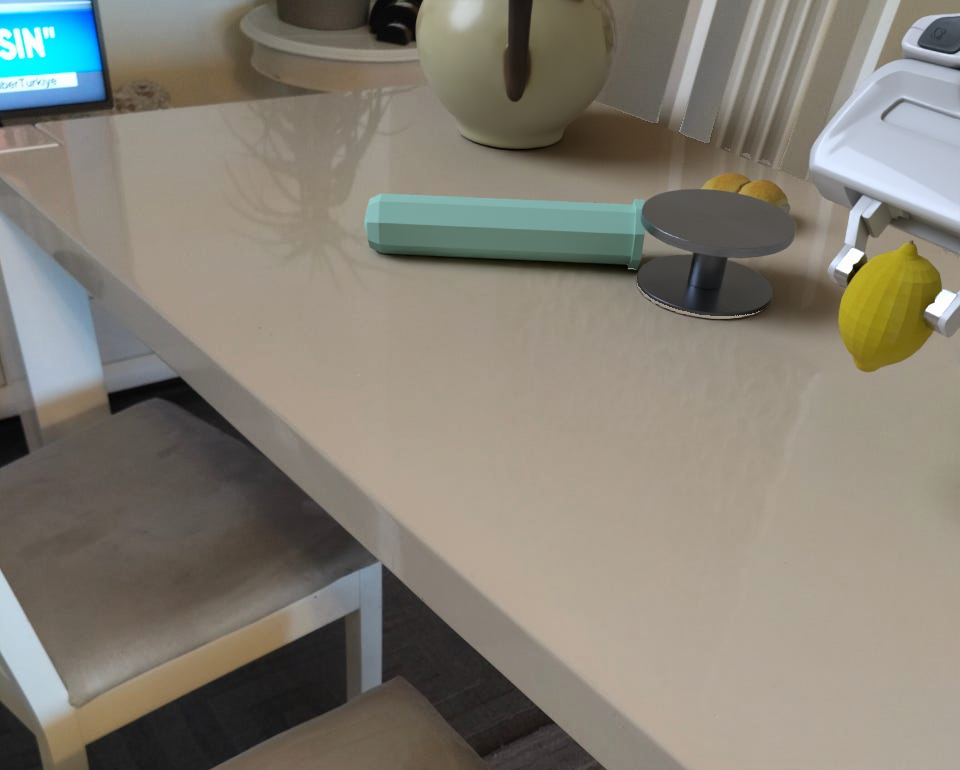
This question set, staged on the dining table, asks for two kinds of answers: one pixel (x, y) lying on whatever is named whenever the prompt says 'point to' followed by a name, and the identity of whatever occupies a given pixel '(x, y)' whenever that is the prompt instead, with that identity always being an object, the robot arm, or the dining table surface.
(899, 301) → the fruit
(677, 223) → the stand
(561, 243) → the container
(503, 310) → the dining table surface
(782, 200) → the bread roll
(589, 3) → the pitcher
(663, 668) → the dining table surface
